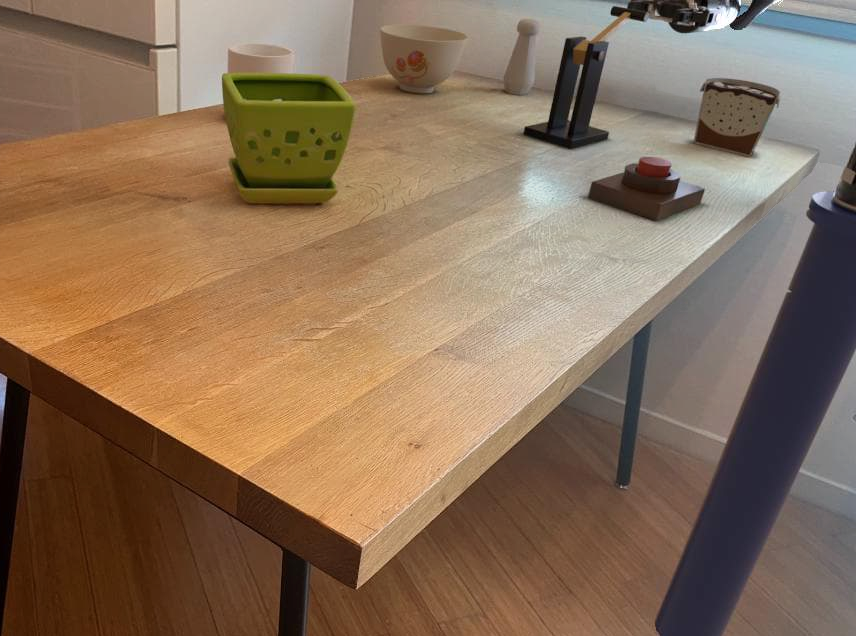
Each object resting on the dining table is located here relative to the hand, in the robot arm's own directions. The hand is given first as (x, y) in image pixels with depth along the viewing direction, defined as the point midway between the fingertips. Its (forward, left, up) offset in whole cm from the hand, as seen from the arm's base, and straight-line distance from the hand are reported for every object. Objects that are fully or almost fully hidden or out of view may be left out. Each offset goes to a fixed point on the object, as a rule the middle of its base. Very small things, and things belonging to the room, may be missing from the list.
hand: (653, 12), depth 142 cm
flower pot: (+41, +65, -18) cm, 79 cm away
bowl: (+38, -3, -18) cm, 42 cm away
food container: (-17, +6, -18) cm, 25 cm away
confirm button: (-3, +44, -14) cm, 46 cm away
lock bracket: (+9, +16, -18) cm, 26 cm away
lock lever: (+6, +11, -4) cm, 13 cm away
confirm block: (-3, +44, -18) cm, 48 cm away
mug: (+55, +33, -18) cm, 67 cm away
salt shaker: (+20, -13, -18) cm, 30 cm away
